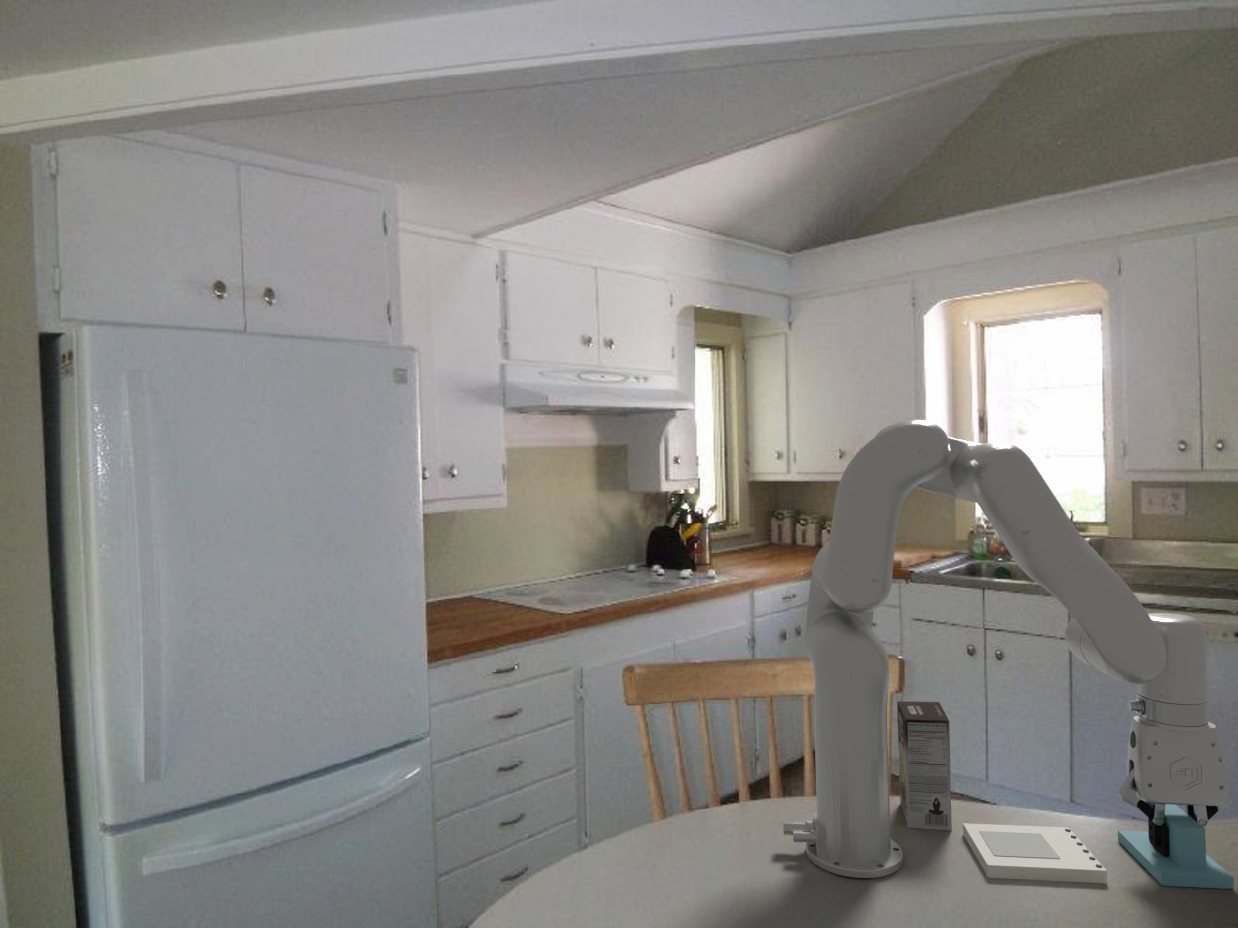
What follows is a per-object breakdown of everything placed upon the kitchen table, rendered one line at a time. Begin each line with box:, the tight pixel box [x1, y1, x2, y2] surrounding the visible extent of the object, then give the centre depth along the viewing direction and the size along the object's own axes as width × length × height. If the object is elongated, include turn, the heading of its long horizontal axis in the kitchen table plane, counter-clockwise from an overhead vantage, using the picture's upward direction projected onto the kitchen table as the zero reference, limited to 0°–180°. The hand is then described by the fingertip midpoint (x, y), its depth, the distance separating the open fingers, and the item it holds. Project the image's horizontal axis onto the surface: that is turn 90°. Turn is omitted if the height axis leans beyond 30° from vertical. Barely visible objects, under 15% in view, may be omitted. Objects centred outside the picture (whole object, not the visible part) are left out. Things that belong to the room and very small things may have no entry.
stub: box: [1117, 804, 1235, 890], centre depth 105 cm, size 8×12×6 cm, turn 171°
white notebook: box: [962, 822, 1108, 884], centre depth 108 cm, size 14×12×2 cm
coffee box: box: [896, 700, 953, 832], centre depth 121 cm, size 9×6×16 cm
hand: (1176, 850), depth 105 cm, fingers closed on stub, 3 cm apart
